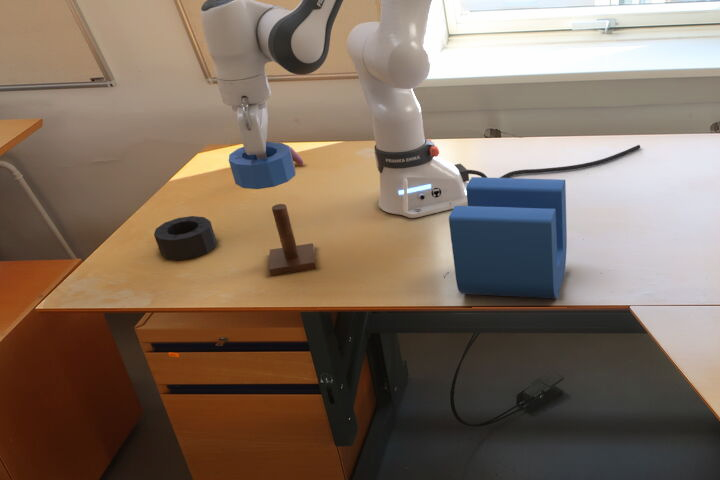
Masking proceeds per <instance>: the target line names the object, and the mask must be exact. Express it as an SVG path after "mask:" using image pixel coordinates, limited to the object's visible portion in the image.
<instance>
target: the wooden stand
mask: <svg viewBox="0 0 720 480" xmlns="http://www.w3.org/2000/svg"><path fill="white" fill-rule="evenodd" d="M271 211H272V214H273V218H274V222H275V226H276V230H277V233H278V238H279V241H280V244H281V247H277V248H272V249H269V260H268V262H269V263H268V271H269V275H270V276H271V277H273V276H277V275H284V274H285V275H286V274H291V273H296V272H303V271H309V270H315V269H316V268H317V265H316V264H317V263H316V252H315V251H316V250H315V245H314V242H312V243H305V244H298V245H297V243H296V239H295V234H294V232H293V228H292V227H293V226H292V223H291V219H290V215H289V211H288V206H287V204H284V203H277V204H275V205H272V207H271Z"/></svg>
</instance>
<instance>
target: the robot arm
mask: <svg viewBox="0 0 720 480" xmlns="http://www.w3.org/2000/svg"><path fill="white" fill-rule="evenodd" d="M343 2H344V0H300V1H299V3H298V4H297V5H296V7H295V8H293V9H289V8H286V7H283V6H281V5H277V4H270V3H266V2H265V3H264V2H261V1H258V0H205V1H204V2H203V4H202V5H201V7H200V19H201V26H202V31H203V35H204V39H205V44H206V47H207V48H206V49H207V51H208V54H209V56H210V57H211V59H212V61H213V64H214V74H215V75H214V76H215V79H216V83H217V86H218V89H219V92H220V97H221V99H222V102H223V104H225V105H226V106H231V110H232V111H233V112H235V113H236V122H237V125H238V129H239V135H240V137H241V142H242V147H244V149H245V152H246V154H247V155H256V157H257V160H258V159H265V158H267V154H266V142H267V138H268V137H267V136H268V123H269V122H268V121H269V115H268V114H269V113H268V106H267V105H268V102H267V100H269V99H270V98H271V97H272V92H271V86H270V83H269V78H268V75H267V72H266V64H267V63H271V62H274V63H276V64H278V65H279V66H280V67H281V68H283V70H286V71H287V72H289V73H290V74H294V75H298V76H299V75H300V76H304V75H309V74H312V73H314V72H316V71H317V70H319V69H320V68H321V67H322V66H323V65H324V63H325V62H326V59H327V58H328V54H329V50H330V46H331V45H330V42H331V37H332V36H331V35H332V30H333V27H334V23H335V21H336V19H337V16H338V13H339V11H340V8H342V7H341V6H342V4H343ZM380 2H381V3H380V4H381V6H380V16H379V17H380V18H379V21H366V22H362V23H359V24H357V25H356V26H354V27H353V28H352V29H351V31H350V32H349V34H348V36H347V41H346V47H347V52H348V55H349V57H350V59H351V61H352V63H353V66H354V68H355V71H356V74H357V77H358V80H359V83H360V87H361V90H362V92H363V95H364V98H365V101H366V105H367V107H368V110H369V115H370V119H371V125H372V131H373V137H374V142H375V144H374V157H375V164H376V168H377V171H378V172H379V199H378V207H379V208H380V209H381V210H382V211H383V212H386V213H388V214H392V215H393V214H394V215H400V216H404V217H406V218H410V219H416V218H420V217H425V216H429V215H433V214H437V213H441V212H446V211H450V210H453V209H454V207H455V206H468V202H467V192H466V187H467V184H468V183H469V181H470V177H469V176H470V175H476V176H478V177H485V178H489V177H488V176H487V175H486V174H485V173H484V172H482V171H479V170H474V169H468V168H466V166H464V165H463V164H462V163H460V162H459V163H456V164H453V163H452V162H450V161H448V160H446V159H444V158H442V157H441V156H439V155H440V151H439V148H438V147H437V146H436V145H435V143H434V142H433V141H432V140H431V139H430V138H428V139H427V138H426V137H425V131H424V123H423V122H424V121H423V115H422V107H421V105H420V103H419V101H418V99H417V97H416V95H415V93H414V91H413V89H416V88H418V87H420V86H421V85H422V84H423V83H424V82H425V81H426V80H427V78H428V76H429V73H430V70H431V58H430V55H429V51H428V40H429V28H430V22H431V21H430V19H431V14H432V10H433V5H434V2H435V0H381V1H380ZM639 149H641V145H640V144H637V145H634V146H632V147H630V148H628V149H626V150H623V151H620V152H618V153H616V154H613V155H610V156H607V157H604V158H601V159H598V160H594V161H590V162H585V163H579V164H572V165H565V166H556V167H546V168H529V169H518V170H517V169H516V170H512V171H509V172H506V173H504V174H503V175H501V176H500V177H499V178H511V177H512V176H517V175H526V174H527V175H528V174H543V173H555V172H564V171H571V170H578V169H585V168H588V167H593V166H597V165H602V164H605V163H607V162H610V161H613V160H615V159H618V158H621V157H623V156H625V155H628V154H630V153H632V152H635V151H637V150H639Z"/></svg>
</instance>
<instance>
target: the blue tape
mask: <svg viewBox="0 0 720 480" xmlns="http://www.w3.org/2000/svg"><path fill="white" fill-rule="evenodd" d="M287 145H288V144H285V143H282V142H276V141H266V154H267V158H265V159H258V160H257V157H256V155H247V154H246V152H245V149H244V146H241V147H239V148H237V149H235V150H234V151H232V152H231V153H229V155H228V163H229V166H230V169H231V173H232V177H233V180H234V183H235V185H237V186H238V187H240V188H242V189H249V190H262V189H269V188H275V187H277V186H280V185H282V184H285V183H288V182H289V181H291V180H292V179H293V178H294V177H295V176H296V168H295V162H294V161H293V159H292V155H291V151H290V147H291V146H290V145H288V146H287Z"/></svg>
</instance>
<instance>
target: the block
mask: <svg viewBox="0 0 720 480" xmlns="http://www.w3.org/2000/svg"><path fill="white" fill-rule="evenodd" d="M467 183H468V184H467V187H466V192H467V202H468V205H467V206H455V207H454V209H451V212H450V214H449V216H448V225H449V232H450V233H449V234H450V240H451V241H450V242H451V249H452V258H453V265H454V273H455V275H454V276H455V282H456V286H457V290H458V291H459V293H460V294H462V295H463V294H464V295H481V296H503V297H518V298H519V297H521V298H522V297H523V298H524V297H525V298H539V299H542V298H543V299H558V297H559V295H560V290H561V287H562V283H563V280H564V276H565V272H566V271H565V270H566V262H567V247H568V246H567V245H568V240H567V239H568V238H567V237H568V235H567V231H568V230H567V193H566V192H567V190H566V188H567V187H566V179H557V178H520V177H519V178H517V177H516V178H515V177H508V178H500V177H488V178H485V177H481V176H472V177H470V178H469V181H468V182H467Z"/></svg>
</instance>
